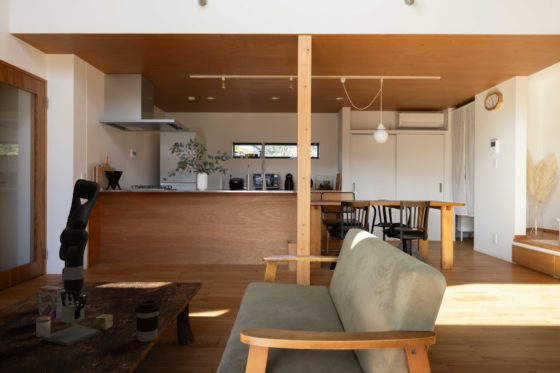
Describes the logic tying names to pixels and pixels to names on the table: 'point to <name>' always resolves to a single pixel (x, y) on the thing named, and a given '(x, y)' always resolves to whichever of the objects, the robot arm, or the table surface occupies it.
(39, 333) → the cream jar
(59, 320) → the walnut block
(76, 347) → the table surface
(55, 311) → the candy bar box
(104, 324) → the oak cube
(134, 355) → the table surface
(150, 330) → the coffee cup
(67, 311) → the sage block
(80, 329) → the board
